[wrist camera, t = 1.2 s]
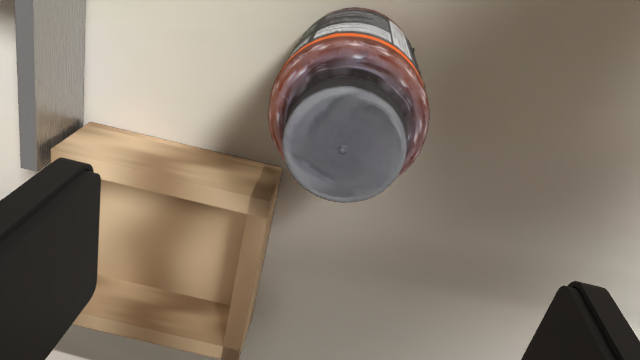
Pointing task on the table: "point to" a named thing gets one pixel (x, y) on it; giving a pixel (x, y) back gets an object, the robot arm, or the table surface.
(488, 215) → the table surface
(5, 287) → the robot arm
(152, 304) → the caddy
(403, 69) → the supplement bottle
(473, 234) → the table surface
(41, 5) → the grey l-shaped block
